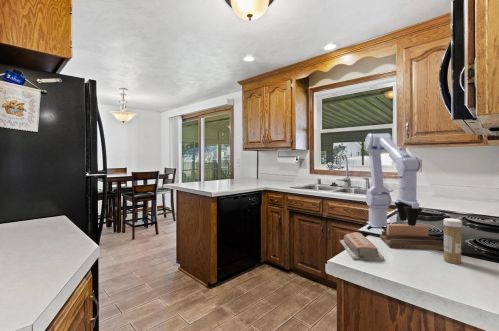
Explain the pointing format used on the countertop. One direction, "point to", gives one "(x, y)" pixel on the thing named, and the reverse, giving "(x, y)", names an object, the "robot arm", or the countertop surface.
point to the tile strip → (407, 230)
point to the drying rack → (412, 241)
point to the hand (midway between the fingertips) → (407, 222)
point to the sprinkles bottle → (452, 240)
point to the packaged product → (360, 247)
